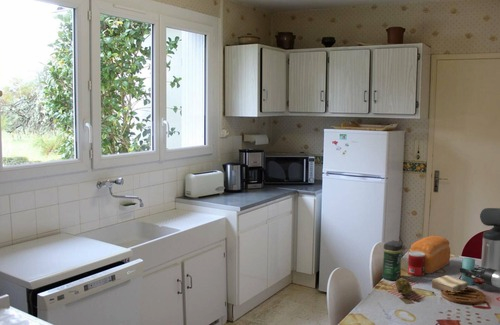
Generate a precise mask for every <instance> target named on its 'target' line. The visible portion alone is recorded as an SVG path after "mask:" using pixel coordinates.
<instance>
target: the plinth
mask: <svg viewBox="0 0 500 325" xmlns="http://www.w3.org/2000/svg"><path fill="white" fill-rule="evenodd" d="M431 282H432V284H431V288H432V289H435V290H437V291H440V292H442V291H441V290H448V291H451V292H456V291H460V290H463V289H465V288H467V289H468V285H467V282H466V281H463V280H461V279H460V278H457V277H453V276H450V275H444V276H443V275H442V276H440V277H436V278H433V279H432V281H431Z"/></svg>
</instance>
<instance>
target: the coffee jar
mask: <svg viewBox="0 0 500 325" xmlns="http://www.w3.org/2000/svg"><path fill="white" fill-rule="evenodd" d="M402 251H403V244H402V243H401V241H398V240H393V239H392V240H391V241H387V242H385V243H384V244H383V260H382V261H383V262H382V270H381V271H382V272H381V274H382V275H381V278H383V279H385V280H387V281H397V280H398V279H401V273H402V272H401V270H402V268H401V264H402Z"/></svg>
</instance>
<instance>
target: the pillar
mask: <svg viewBox="0 0 500 325" xmlns="http://www.w3.org/2000/svg"><path fill="white" fill-rule="evenodd" d="M461 265H462V266H461V268H464V269H468V270H472V269H473V270H475V267H476V259H475V258H471V257H463V258H462V264H461ZM473 273H474V272H473ZM460 280H463V281H466V282H467V286H473V285H474V282H475V279H472V278H469V277H467V276H465V274H464V273H461V279H460Z"/></svg>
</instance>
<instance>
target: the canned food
mask: <svg viewBox="0 0 500 325" xmlns="http://www.w3.org/2000/svg"><path fill="white" fill-rule="evenodd" d="M407 260H408V261H407V273H408V275H409V276H412V277H423V276H424V275H425V273H424V268H425V254H424V253H422V252H417V251H411V252H410V251H409V252H408V259H407Z"/></svg>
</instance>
